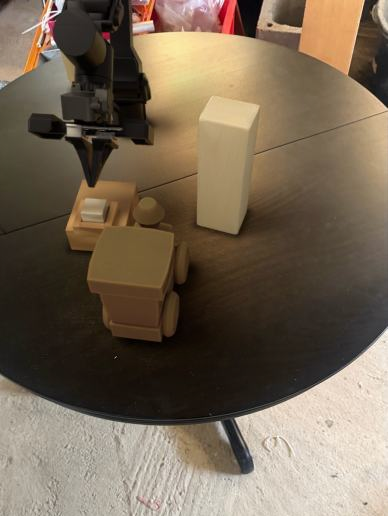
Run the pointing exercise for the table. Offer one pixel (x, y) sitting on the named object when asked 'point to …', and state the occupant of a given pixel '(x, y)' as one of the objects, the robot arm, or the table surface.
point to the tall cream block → (225, 162)
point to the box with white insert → (119, 212)
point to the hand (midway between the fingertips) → (91, 187)
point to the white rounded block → (94, 210)
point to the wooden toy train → (139, 274)
